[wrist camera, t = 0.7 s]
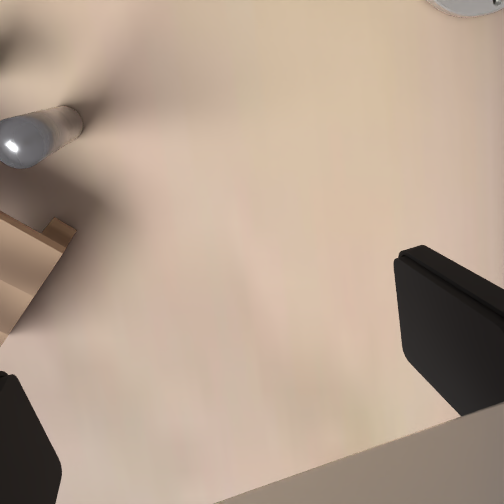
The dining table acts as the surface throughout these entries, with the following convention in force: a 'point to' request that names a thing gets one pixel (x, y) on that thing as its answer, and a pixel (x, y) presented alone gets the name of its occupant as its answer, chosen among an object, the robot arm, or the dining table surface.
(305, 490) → the robot arm
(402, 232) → the dining table surface
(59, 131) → the long pin
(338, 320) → the dining table surface
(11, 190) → the dining table surface
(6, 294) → the bridge
